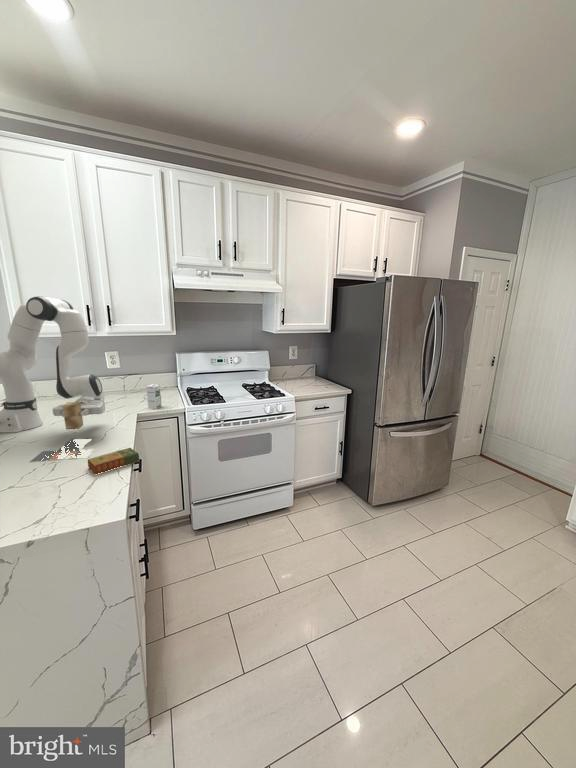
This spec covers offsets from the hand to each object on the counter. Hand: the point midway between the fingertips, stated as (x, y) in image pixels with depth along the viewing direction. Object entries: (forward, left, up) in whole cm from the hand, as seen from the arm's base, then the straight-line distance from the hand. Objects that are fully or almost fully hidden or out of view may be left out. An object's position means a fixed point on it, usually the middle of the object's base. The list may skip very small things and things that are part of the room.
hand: (72, 414), depth 139 cm
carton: (+23, -24, -15) cm, 36 cm away
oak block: (0, +1, -6) cm, 6 cm away
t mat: (0, -4, -14) cm, 15 cm away
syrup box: (+23, +54, -14) cm, 61 cm away
